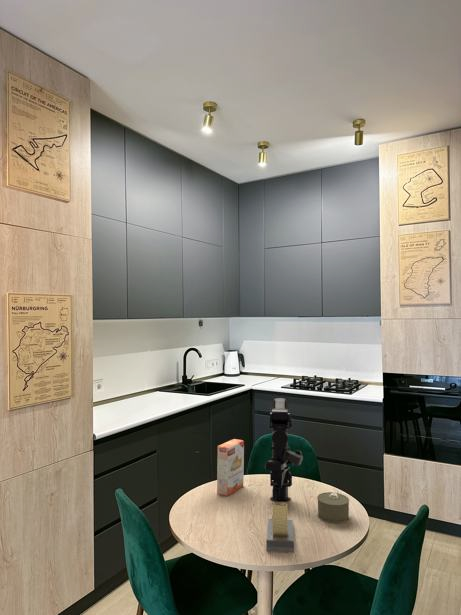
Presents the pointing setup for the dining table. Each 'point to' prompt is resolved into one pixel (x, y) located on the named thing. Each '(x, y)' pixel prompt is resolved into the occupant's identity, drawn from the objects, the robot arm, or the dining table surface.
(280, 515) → the lever
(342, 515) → the can
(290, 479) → the robot arm
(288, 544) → the rail
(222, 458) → the cracker box
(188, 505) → the dining table surface
